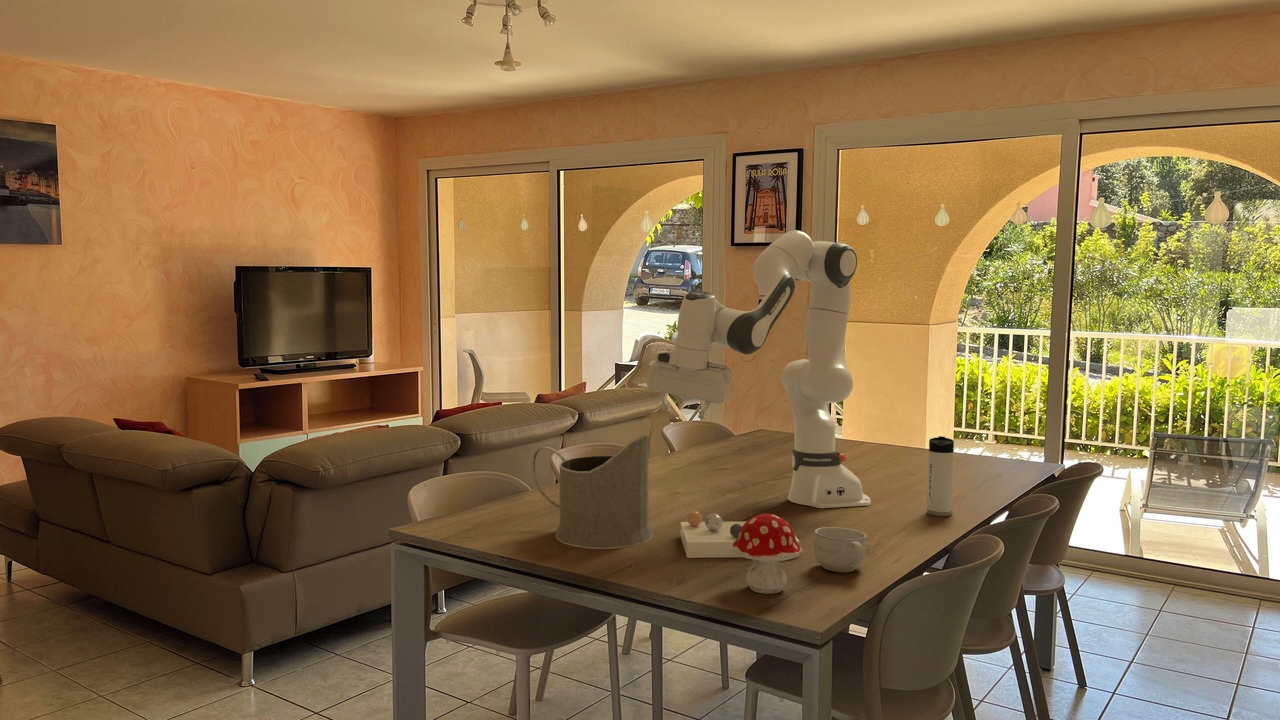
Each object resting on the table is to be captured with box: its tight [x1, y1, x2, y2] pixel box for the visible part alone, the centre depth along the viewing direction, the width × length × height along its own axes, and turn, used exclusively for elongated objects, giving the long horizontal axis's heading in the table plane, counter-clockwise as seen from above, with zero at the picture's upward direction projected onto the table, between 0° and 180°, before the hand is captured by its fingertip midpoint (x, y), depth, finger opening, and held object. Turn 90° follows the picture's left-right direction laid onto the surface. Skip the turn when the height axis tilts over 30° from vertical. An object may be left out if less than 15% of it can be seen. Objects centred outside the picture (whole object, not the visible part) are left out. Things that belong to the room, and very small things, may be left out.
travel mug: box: [926, 435, 955, 517], centre depth 241 cm, size 6×7×20 cm
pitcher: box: [531, 434, 654, 550], centre depth 222 cm, size 23×32×25 cm
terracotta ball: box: [686, 510, 703, 526], centre depth 216 cm, size 4×4×4 cm
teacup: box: [813, 526, 868, 573], centre depth 194 cm, size 14×11×8 cm
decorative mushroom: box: [732, 513, 803, 595], centre depth 182 cm, size 14×14×15 cm
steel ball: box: [704, 513, 724, 531], centre depth 212 cm, size 4×4×4 cm
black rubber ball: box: [730, 524, 742, 538], centre depth 206 cm, size 3×3×3 cm
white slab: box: [680, 521, 800, 559], centre depth 212 cm, size 25×17×4 cm
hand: (683, 414), depth 224 cm, fingers open, 8 cm apart
